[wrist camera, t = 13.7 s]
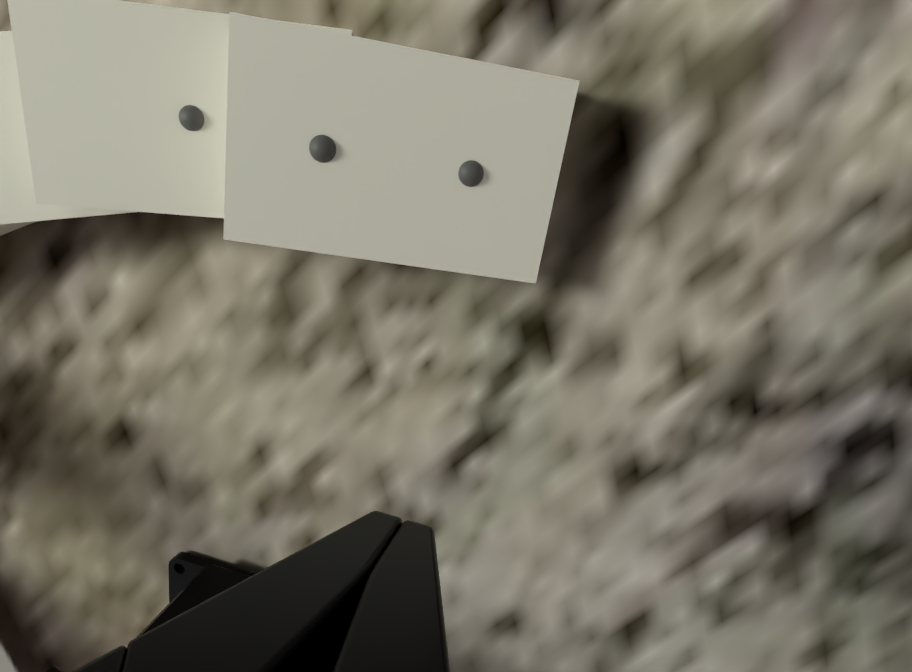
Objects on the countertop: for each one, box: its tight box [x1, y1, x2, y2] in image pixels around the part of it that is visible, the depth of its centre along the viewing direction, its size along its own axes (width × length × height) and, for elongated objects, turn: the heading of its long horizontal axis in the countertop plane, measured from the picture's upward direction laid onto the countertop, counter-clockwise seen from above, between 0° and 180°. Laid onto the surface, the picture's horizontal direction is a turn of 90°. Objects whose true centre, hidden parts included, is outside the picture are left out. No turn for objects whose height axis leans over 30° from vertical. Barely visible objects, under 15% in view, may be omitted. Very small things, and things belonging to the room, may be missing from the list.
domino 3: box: [223, 12, 579, 283], centre depth 14 cm, size 5×2×8 cm
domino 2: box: [8, 0, 354, 218], centre depth 15 cm, size 5×2×8 cm
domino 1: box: [0, 31, 136, 224], centre depth 16 cm, size 5×2×8 cm
